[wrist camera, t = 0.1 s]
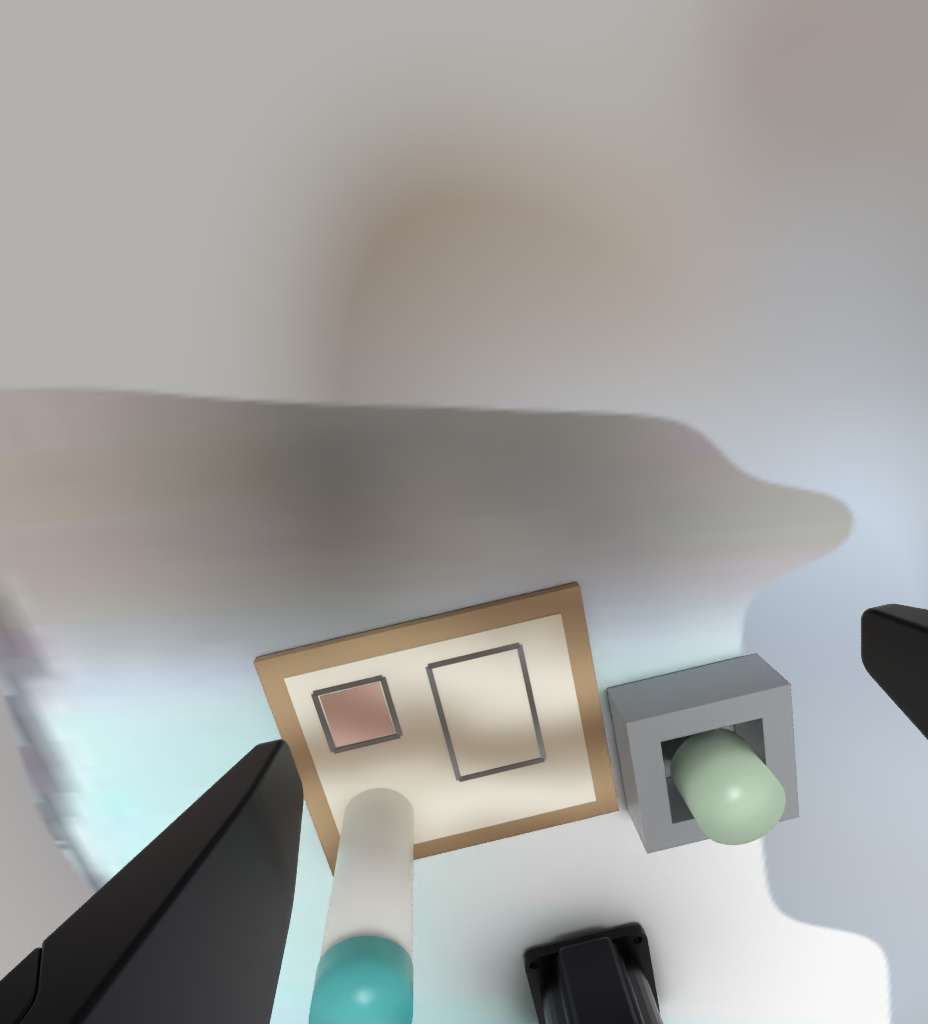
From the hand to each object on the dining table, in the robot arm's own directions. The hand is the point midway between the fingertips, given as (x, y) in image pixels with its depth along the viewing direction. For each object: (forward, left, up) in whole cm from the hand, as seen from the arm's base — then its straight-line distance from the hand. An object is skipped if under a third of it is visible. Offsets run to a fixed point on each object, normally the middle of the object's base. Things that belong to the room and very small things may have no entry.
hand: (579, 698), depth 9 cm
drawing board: (-11, +4, -15) cm, 19 cm away
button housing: (-14, -7, -15) cm, 22 cm away
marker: (-14, +8, -14) cm, 21 cm away
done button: (-14, -7, -13) cm, 20 cm away
